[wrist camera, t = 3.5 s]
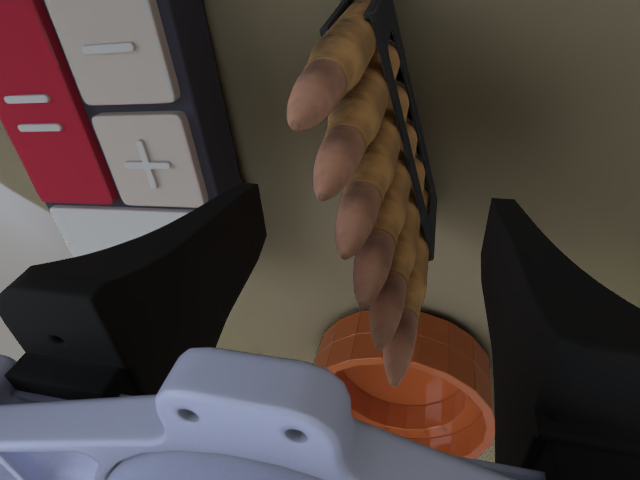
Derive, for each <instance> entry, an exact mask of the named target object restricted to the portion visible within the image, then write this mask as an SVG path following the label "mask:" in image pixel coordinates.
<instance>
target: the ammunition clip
mask: <svg viewBox="0 0 640 480" xmlns="http://www.w3.org/2000/svg"><path fill="white" fill-rule="evenodd" d="M320 34H321V37H322V38H321V39H320V40H319V41H318V42H317V43H316V45H315V46H314V47H313V49H312V51H311V54H310V57H309V60H308V63H307V64H306V66H305V67H304V69H303V72H302V73H301V75H300V76H299V77H298V79H297V80H296V82H295V84H294V86H293V88H292V91H291V94H290V97H289V100H288V105H287V121H288V124H289V127H290V128H291V129H292V130H295V131H304V130H308V129H310V128H312V127H314V126H316V125H317V124H319V123H321V122H322V121H323V120H324V119H325V118H326V117H327V116H328V115H329V117H328V128H327V130H326V133H325V135H324V137H323V141H322V143H321V145H320V148H319V150H318V153H317V157H316V160H315V164H314V173H313V184H314V191H315V193H316V196H317V198H318V199H319V200H321V201H325V200H328V199H330V198H332V197H334V196H335V195H337V194H338V193H339V192H340V191H341V190H342V189H343V190H342V197H341V200H340V203H339V206H338V210H337V216H336V227H335V237H336V246H337V250H338V253H339V255H340V257H341V258H342V259H344V260H347V259H349V258H350V257H352V256H353V255H354V254H355V260H354V271H353V281H354V291H355V296H356V299H357V301H358V304H359V306H360V307H361V308H367V307H368V306H369V324H370V332H371V336H372V340H373V343H374V345H375V347H376V349H377V350H379V351H381V350H383V361H384V367H385V372H386V376H387V379H388V381H389V384H390V385H391V386H392V387H397V386H398V385H399V384H400V382H401V381H402V379H403V378H404V376H405V374H406V372H407V369H408V367H409V365H410V362H411V359H412V355H413V351H414V346H415V342H416V337H417V328H418V323H419V317H420V310H421V306H422V303H423V301H424V298H425V293H426V286H427V272H428V261H431V260H433V259H434V246H435V227H436V210H437V197H436V193H435V188H434V184H433V179H432V175H431V170H430V166H429V161H428V157H427V152H426V148H425V143H424V139H423V134H422V130H421V125H420V121H419V116H418V112H417V107H416V103H415V98H414V94H413V89H412V85H411V80H410V76H409V71H408V67H407V62H406V58H405V54H404V49H403V45H402V40H401V36H400V31H399V27H398V22H397V18H396V13H395V9H394V4H393V0H342V2H341V3H340V4H339V6H338V7H337V8H336V10H335V11H334V12H333V14H332V15H331V16H330V18H329V19H328V20H327V21H326V23H325V24H324V25H323V26H322V28H321V29H320Z"/></svg>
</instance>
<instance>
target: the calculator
mask: <svg viewBox="0 0 640 480" xmlns="http://www.w3.org/2000/svg"><path fill="white" fill-rule="evenodd" d="M0 120H1V122H2V124H3V126H4V128H5V130H6V132H7V134H8V136H9V138H10V140H11V142H12V144H13V146H14V148H15V150H16V152H17V154H18V156H19V158H20V160H21V162H22V164H23V166H24V168H25V170H26V172H27V174H28V175H29V177H30V179H31V181H32V183H33V185H34V187H35V189H36V191H37V193H38V195H39V197H40V198H41V200H42V201H44V202H45V203H46V205H47V207H48V209H49V211H50V213H51V215H52V217H53V219H54V221H55V223H56V225H57V227H58V229H59V231H60V233H61V235H62V237H63V239H64V241H65V243H66V245H67V247H68V249H69V251H70V253H71V255H72V257H73V258H74V257H78V256H82V255H85V254H89V253H93V252H96V251H100V250H103V249H107V248H110V247H113V246H116V245H118V244H121V243H124V242H127V241H130V240H132V239H135V238H138V237H140V236H143V235H145V234H147V233H150V232H152V231H154V230H157V229H159V228H161V227H163V226H165V225H167V224H169V223H171V222H173V221H175V220H176V219H178V218H180V217H182V216H184V215H186V214H187V213H189V212H191V211H193V210H195V209H196V208H198V207H200V206H201V205H203V204H205V203H206V202H208V201H210V200H211V199H213V198H215V197H216V196H218V195H220V194H221V193H223V192H225V191H226V190H228V189H230V188H232V187H233V186H235V185H238V184H240V183H244V182H243V181H242V179H241V178H240V175H239V170H238V166H237V161H236V156H235V152H234V147H233V143H232V138H231V133H230V129H229V124H228V119H227V115H226V110H225V106H224V101H223V96H222V92H221V87H220V82H219V78H218V73H217V69H216V64H215V59H214V55H213V50H212V46H211V41H210V36H209V32H208V27H207V22H206V18H205V13H204V9H203V4H202V0H0Z"/></svg>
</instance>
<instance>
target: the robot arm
mask: <svg viewBox="0 0 640 480" xmlns="http://www.w3.org/2000/svg"><path fill="white" fill-rule="evenodd" d="M266 236H267V234H266V228H265V222H264V216H263V211H262V205H261V199H260V193H259V188H258V184H248V183H240V184H238V185H235V186H233V187H232V188H230V189H228V190H226V191H225V192H223V193H221V194H220V195H218V196H216V197H215V198H213V199H211V200H210V201H208V202H206V203H205V204H203V205H201V206H200V207H198V208H196V209H195V210H193V211H191V212H189V213H187V214H186V215H184V216H182V217H180V218H178V219H176V220H175V221H173V222H171V223H169V224H167V225H165V226H163V227H161V228H159V229H157V230H154V231H152V232H150V233H147V234H145V235H143V236H140V237H138V238H135V239H132V240H130V241H127V242H124V243H121V244H118V245H116V246H113V247H110V248H107V249H103V250H100V251H96V252H93V253H89V254H85V255H82V256H78V257H74V258H69V259H65V260H60V261H55V262H50V263H45V264H39V265H34V266H31V267H29V268H28V269H27V270H26V271H25V272H24V273H23V274H21V275H20V276H19V277H18V278H17V279H16V280H15V281H14V282H13V283H11V284H10V285H9V286H8V287H7V288H6V289H4V290H3V291H2V292H1V293H0V316H1V318H2V319H3V321H4V323H5V324H6V326H7V327H8V328H9V330H10V331H11V332H12V334H13V335H14V336H15V338H16V340H17V341H18V342H19V344H20V345H21V346H22V348H23V349H24V351H25V352H26V353H25V354H24V355H23V356H22V357H21V358H20V359H19V360H18V361H17V362H16V361H15V360H14V359H12V358H10V357H7V356H4V355H0V480H640V308H638V307H636V306H635V305H633V304H631V303H629V302H628V301H626V300H625V299H623V298H621V297H620V296H618V295H617V294H615V293H614V292H612V291H611V290H609V289H608V288H606V287H605V286H603V285H602V284H600V283H599V282H597V281H596V280H595V279H593V278H592V277H591V276H590V275H588V274H587V273H586V272H584V271H583V270H582V269H581V268H579V267H578V266H577V265H576V264H574V263H573V262H572V261H571V260H570V259H569V258H568V257H567V256H566V255H564V254H563V253H562V252H561V251H560V250H559V249H558V248H557V247H556V246H555V245H554V244H553V243H552V242H551V241H550V240H549V239H548V238H547V237H546V236H545V235H544V234H543V233H542V231H541V230H540V229H539V228H538V227H537V226H536V225H535V223H534V222H533V221H532V220H531V219H530V218H529V216H528V215H527V214H526V213H525V212H524V210H523V209H522V208H521V207H520V206H519V204H518V203H517V202H516V201H515V200H514V199H499V198H492V199H491V205H490V210H489V215H488V220H487V225H486V230H485V235H484V241H483V246H482V251H481V282H482V289H483V295H484V302H485V308H486V314H487V320H488V327H489V333H490V339H491V346H492V356H493V378H494V410H495V463H493V462H487V461H482V460H477V459H471V458H466V457H460V456H455V455H450V454H447V453H444V452H442V451H439V450H437V449H434V448H431V447H429V446H426V445H423V444H421V443H418V442H415V441H413V440H410V439H407V438H405V437H402V436H400V435H397V434H394V433H392V432H389V431H386V430H384V429H381V428H378V427H376V426H373V425H370V424H368V423H365V422H362V421H360V420H357V419H355V418H353V417H352V413H351V397H350V395H349V393H348V391H347V388H346V386H345V384H344V382H343V381H342V380H341V379H340V378H338V377H337V376H336V375H334V374H333V373H331V372H330V371H329V370H327V369H326V368H324V367H321V366H318V365H315V364H312V363H309V362H306V361H300V360H293V359H287V358H280V357H273V356H267V355H260V354H253V353H247V352H240V351H234V350H227V349H220V348H216V345H217V342H218V340H219V337H220V335H221V332H222V330H223V327H224V325H225V322H226V320H227V318H228V316H229V313H230V311H231V309H232V308H233V306H234V304H235V302H236V300H237V298H238V296H239V295H240V293H241V291H242V289H243V287H244V285H245V283H246V282H247V280H248V278H249V276H250V274H251V272H252V270H253V268H254V267H255V265H256V263H257V261H258V258H259V256H260V253H261V250H262V248H263V245H264V242H265V239H266Z"/></svg>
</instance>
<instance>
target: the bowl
mask: <svg viewBox="0 0 640 480" xmlns="http://www.w3.org/2000/svg"><path fill="white" fill-rule="evenodd" d="M313 364H315V365H318V366H321V367H324V368H326V369H327V370H329V371H330V372H331V373H333V374H334V375H336V376H337V377H338V378H340V379H341V380H342V381H343V382H344V384H345V386H346V388H347V391H348V393H349V395H350V397H351V413H352V417H353V418H355V419H357V420H360V421H362V422H365V423H368V424H370V425H373V426H376V427H378V428H381V429H384V430H386V431H389V432H392V433H394V434H397V435H400V436H402V437H405V438H407V439H410V440H413V441H415V442H418V443H421V444H423V445H426V446H429V447H431V448H434V449H437V450H439V451H442V452H444V453H447V454H450V455H455V456H460V457H466V458H471V459H476V458H478V457H479V456H480V455H482V454H483V453H484V452H485V451H486V450H487V449H488V448H489V447H490V446H491V445H492V444H493V441H494V437H495V410H494V382H493V372H492V369H491V365H490V361H489V357H488V355H487V354H486V352H485V351H484V350H483V349H482V347H481V346H480V345H479V344H478V343H477V341H476V340H475V339H474V338H473V337H472V336H471V335H470V334H468V333H467V332H465V331H464V330H462V329H460V328H459V327H457V326H456V325H454V324H453V323H451V322H449V321H447V320H444V319H441V318H438V317H435V316H432V315H430V314H427V313H424V312H420V317H419V323H418V328H417V337H416V342H415V346H414V351H413V355H412V359H411V362H410V365H409V367H408V369H407V372H406V374H405V376H404V378H403V379H402V381H401V382H400V384H399V385H398V386H397V387H392V386H391V385H390V384H389V381H388V379H387V376H386V372H385V367H384V361H383V350H381V351H379V350H377V349H376V347H375V345H374V343H373V340H372V336H371V332H370V324H369V310H363V311H359V312H356V313H354V314H351V315H349V316H346V317H344V318H341V319H339V320H338V321H337V322H336V323H335V324H333V325H332V326H331V327H330V328H329V329H328V330H327V331H326V332H324V334H323V336H322V339H321V341H320V344H319V346H318V349H317V352H316V356H315V359H314V362H313Z"/></svg>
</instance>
